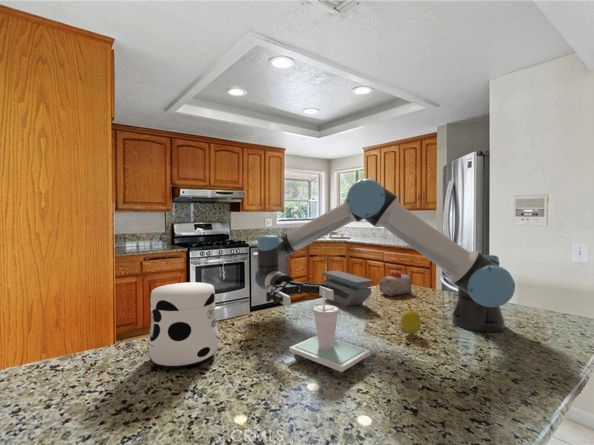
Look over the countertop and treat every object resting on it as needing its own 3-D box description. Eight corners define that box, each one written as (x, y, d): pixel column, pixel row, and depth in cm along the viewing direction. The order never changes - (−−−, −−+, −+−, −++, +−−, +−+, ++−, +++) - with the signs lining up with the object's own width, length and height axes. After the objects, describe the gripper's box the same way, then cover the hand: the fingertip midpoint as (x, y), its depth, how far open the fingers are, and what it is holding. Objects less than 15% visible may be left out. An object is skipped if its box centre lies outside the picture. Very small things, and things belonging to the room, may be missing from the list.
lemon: (422, 339, 96) (422, 312, 96) (402, 338, 97) (402, 311, 97) (419, 332, 102) (419, 306, 101) (400, 331, 103) (400, 305, 103)
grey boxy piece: (389, 297, 144) (389, 275, 143) (377, 293, 151) (377, 272, 151) (413, 294, 149) (413, 272, 149) (400, 290, 157) (401, 270, 156)
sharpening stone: (373, 308, 128) (373, 280, 127) (356, 311, 124) (356, 282, 124) (337, 294, 150) (337, 270, 150) (322, 296, 147) (322, 271, 146)
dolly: (370, 364, 81) (370, 349, 81) (341, 382, 72) (341, 366, 72) (319, 346, 92) (319, 333, 91) (289, 360, 83) (289, 346, 83)
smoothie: (311, 342, 85) (311, 288, 85) (336, 341, 86) (336, 287, 85) (315, 352, 79) (314, 294, 78) (341, 351, 79) (341, 293, 79)
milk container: (232, 350, 89) (231, 284, 88) (186, 380, 73) (184, 300, 73) (183, 340, 96) (182, 279, 96) (131, 365, 81) (130, 292, 80)
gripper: (312, 291, 115) (348, 305, 96) (243, 300, 104) (269, 319, 85) (312, 269, 115) (348, 280, 96) (243, 276, 104) (269, 290, 85)
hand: (311, 298), depth 91 cm, fingers open, 13 cm apart
